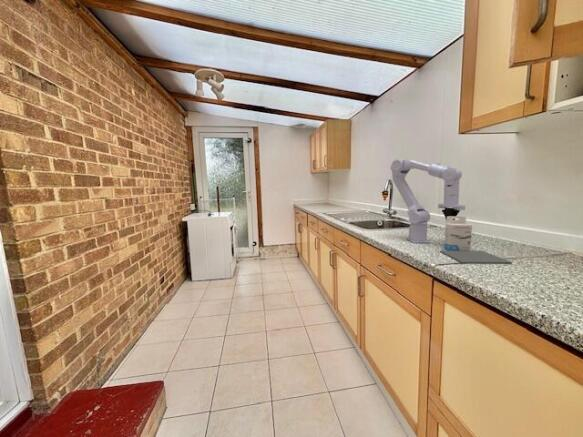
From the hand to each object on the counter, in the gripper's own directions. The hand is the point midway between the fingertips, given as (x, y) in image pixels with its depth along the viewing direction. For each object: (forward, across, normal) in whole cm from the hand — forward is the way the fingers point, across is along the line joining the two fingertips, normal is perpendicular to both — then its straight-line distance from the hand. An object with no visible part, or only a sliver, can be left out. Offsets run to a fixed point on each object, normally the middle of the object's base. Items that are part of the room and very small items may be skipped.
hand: (450, 224), depth 116 cm
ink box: (+10, +7, -2) cm, 13 cm away
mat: (+10, +18, -4) cm, 21 cm away
